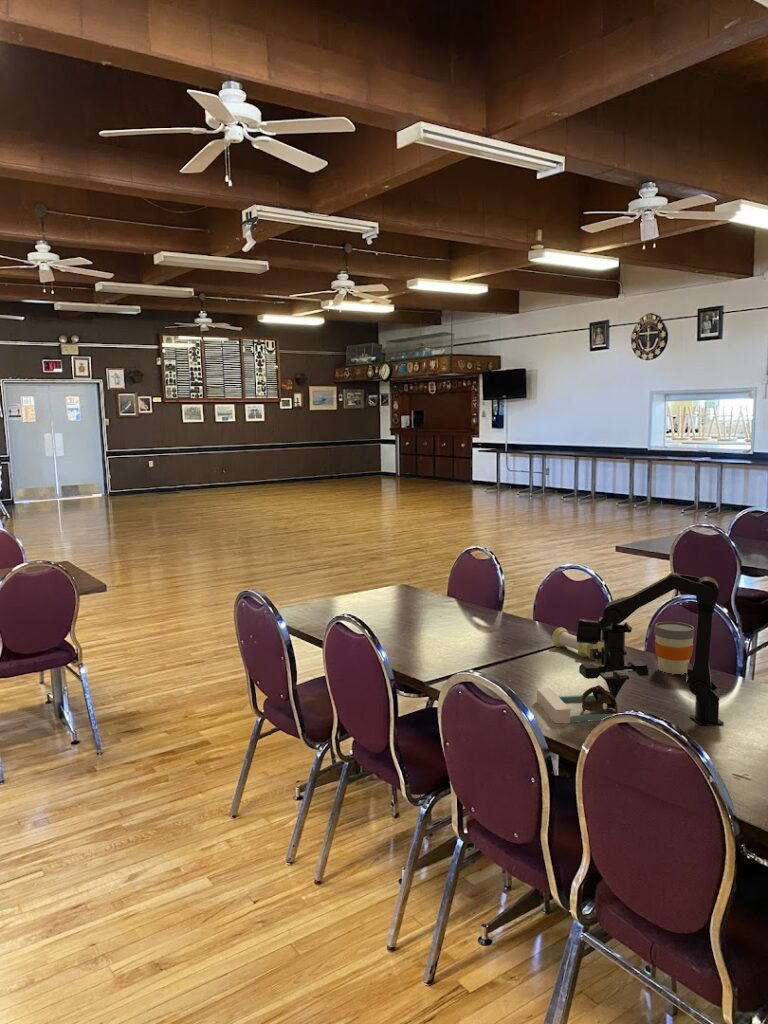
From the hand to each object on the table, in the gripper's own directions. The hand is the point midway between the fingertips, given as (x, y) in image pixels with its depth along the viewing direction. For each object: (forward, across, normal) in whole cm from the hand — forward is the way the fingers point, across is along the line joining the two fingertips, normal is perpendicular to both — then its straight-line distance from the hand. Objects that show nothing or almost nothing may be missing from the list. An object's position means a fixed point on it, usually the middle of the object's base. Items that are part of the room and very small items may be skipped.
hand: (613, 698), depth 212 cm
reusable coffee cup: (+4, -33, -30) cm, 45 cm away
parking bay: (+3, +10, 0) cm, 11 cm away
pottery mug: (+3, +4, +1) cm, 6 cm away
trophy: (+4, -10, -48) cm, 50 cm away
